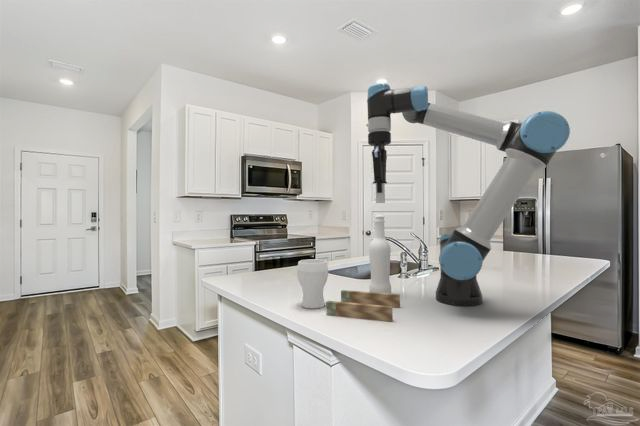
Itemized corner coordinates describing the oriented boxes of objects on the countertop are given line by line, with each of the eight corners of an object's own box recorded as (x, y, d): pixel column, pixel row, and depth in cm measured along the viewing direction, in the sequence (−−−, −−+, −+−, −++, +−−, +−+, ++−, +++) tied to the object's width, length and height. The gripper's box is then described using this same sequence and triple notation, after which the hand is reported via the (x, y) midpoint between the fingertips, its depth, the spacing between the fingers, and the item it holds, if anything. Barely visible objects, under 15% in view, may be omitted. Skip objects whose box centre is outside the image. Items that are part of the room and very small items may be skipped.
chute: (400, 306, 112) (399, 294, 112) (391, 321, 98) (391, 307, 98) (342, 301, 120) (342, 290, 120) (326, 314, 105) (326, 301, 105)
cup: (330, 301, 120) (330, 259, 120) (326, 310, 109) (325, 264, 109) (301, 300, 122) (300, 258, 121) (294, 309, 111) (293, 263, 111)
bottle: (367, 297, 125) (365, 215, 124) (372, 292, 132) (371, 214, 132) (389, 299, 122) (388, 215, 121) (393, 293, 129) (392, 214, 129)
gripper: (372, 137, 121) (373, 203, 122) (363, 129, 109) (364, 203, 110) (393, 135, 119) (394, 202, 119) (386, 127, 106) (388, 202, 107)
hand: (380, 202), depth 114 cm, fingers closed
